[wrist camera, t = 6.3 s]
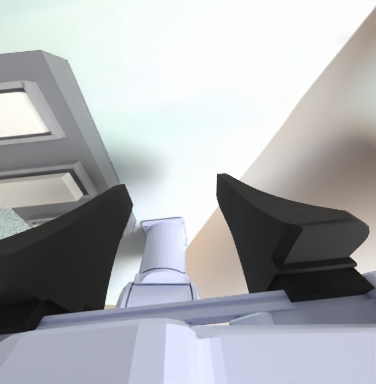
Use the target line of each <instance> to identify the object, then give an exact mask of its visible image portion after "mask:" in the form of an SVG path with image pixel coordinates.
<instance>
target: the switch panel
mask: <svg viewBox="0 0 376 384" xmlns="http://www.w3.org/2000/svg"><path fill="white" fill-rule="evenodd" d="M13 92H25V93H27V94H28V96H29V98H30V99H31V101H32V102H33V104H34V106H35V107H36V109H37V111H38V112H39V114H40V116H41V117H42V119H43V120H44V122H45V124H46V125H47V127H48V129H49V130H50V131H49V132H45V133H36V134H27V135H17V136H8V137H0V180H2V179H11V178H21V177H30V176H40V175H49V174H59V173H68V172H69V173H70V175H71V176H72V178H73V179H74V181H75V182H76V184H77V186H78V187H79V189H80V190H81V192H82V193H83V196H82V197H81V198H80V199H79V200H78V201H73V202H63V203H54V204H45V205H35V206H26V207H16V208H11V209H12V210H14V211H15V212H16V213H17V214H18V215H19V216H20V217H21V218H22V219H23V220H24V221H25V222H27V223H28V224H29V225H30V226H31V227H32V228H34V227H33V226H32V225H33V224H35V223H36V222H39V221H48V220H53V219H55V218H57V217H60V216H62V215H64V214H66V213H68V212H70V211H72V210H74V209H76V208H77V207H79V206H81V205H83V204H84V203H86V202H88V201H90V200H91V199H93V198H95V197H96V196H98V195H100V194H101V193H103V192H104V191H106V190H108V189H110V188H111V187H113V186H115V185H120V182H119V180H118V177H117V175H116V173H115V170H114V168H113V166H112V163H111V161H110V159H109V156H108V154H107V152H106V149H105V147H104V144H103V142H102V140H101V137H100V135H99V133H98V130H97V128H96V126H95V123H94V121H93V119H92V116H91V114H90V112H89V109H88V107H87V105H86V102H85V100H84V98H83V95H82V93H81V91H80V88H79V86H78V84H77V81H76V79H75V77H74V74H73V72H72V70H71V67H70V65H69V63H68V60H65V59H63V58H60V57H58V56H55V55H53V54H50V53H47V52H45V51H42V50H35V51H25V52H16V53H6V54H0V94H3V93H13ZM135 224H136V219H135V217H134V215H133V212H131V216H130V218H129V221H128V223H127V226H126V228H125V230H124V233H123V235H131V234H132V233H133V230H134V227H135Z"/></svg>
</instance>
